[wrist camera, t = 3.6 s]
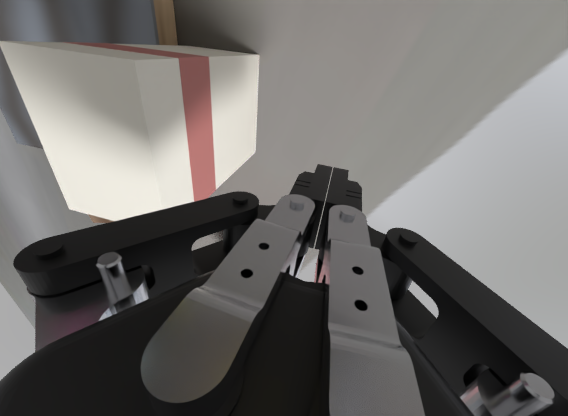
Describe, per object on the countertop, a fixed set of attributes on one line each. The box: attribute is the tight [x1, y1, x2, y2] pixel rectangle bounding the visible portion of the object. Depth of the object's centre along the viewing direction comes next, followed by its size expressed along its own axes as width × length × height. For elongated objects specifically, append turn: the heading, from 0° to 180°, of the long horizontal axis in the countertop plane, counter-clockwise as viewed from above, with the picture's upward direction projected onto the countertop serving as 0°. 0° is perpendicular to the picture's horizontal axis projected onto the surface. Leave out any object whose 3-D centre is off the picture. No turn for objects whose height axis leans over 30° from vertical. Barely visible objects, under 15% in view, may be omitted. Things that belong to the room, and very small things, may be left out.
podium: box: [0, 0, 178, 149], centre depth 27 cm, size 22×16×3 cm
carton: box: [0, 41, 259, 221], centre depth 20 cm, size 7×9×15 cm
